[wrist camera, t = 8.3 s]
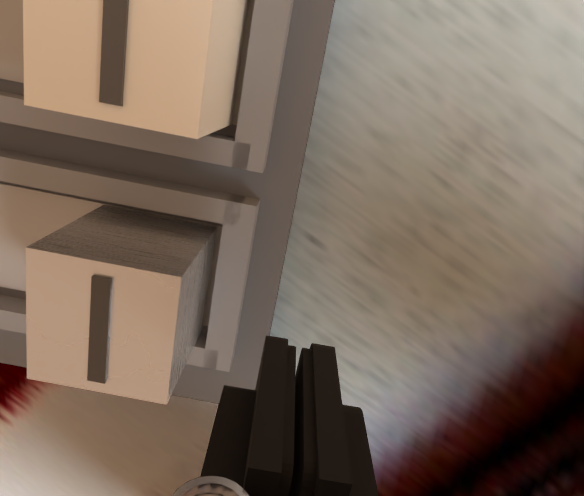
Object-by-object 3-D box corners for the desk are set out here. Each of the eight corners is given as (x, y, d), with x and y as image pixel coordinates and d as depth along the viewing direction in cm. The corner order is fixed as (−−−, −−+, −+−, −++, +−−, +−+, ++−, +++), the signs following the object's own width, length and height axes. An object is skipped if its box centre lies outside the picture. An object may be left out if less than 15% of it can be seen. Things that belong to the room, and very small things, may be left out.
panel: (416, -418, 12) (496, -822, 6) (258, 387, 20) (239, 492, 15) (-250, -563, 11) (-722, -1108, 6) (-128, 314, 20) (-287, 395, 15)
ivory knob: (250, -15, 13) (219, -64, 9) (231, 124, 15) (196, 139, 10) (115, -42, 13) (18, -105, 9) (108, 100, 15) (21, 105, 10)
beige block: (217, 226, 16) (180, 278, 12) (203, 326, 17) (165, 407, 13) (103, 204, 16) (22, 248, 11) (98, 306, 17) (24, 380, 13)
